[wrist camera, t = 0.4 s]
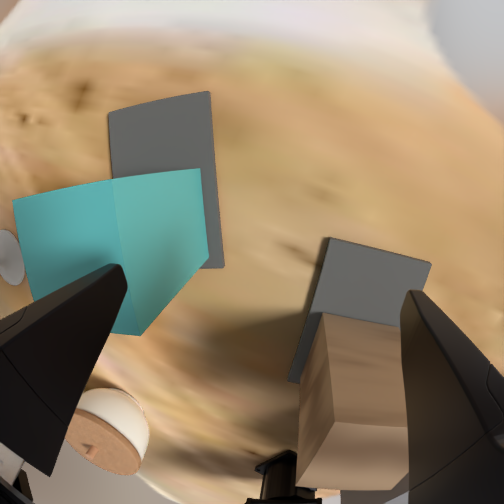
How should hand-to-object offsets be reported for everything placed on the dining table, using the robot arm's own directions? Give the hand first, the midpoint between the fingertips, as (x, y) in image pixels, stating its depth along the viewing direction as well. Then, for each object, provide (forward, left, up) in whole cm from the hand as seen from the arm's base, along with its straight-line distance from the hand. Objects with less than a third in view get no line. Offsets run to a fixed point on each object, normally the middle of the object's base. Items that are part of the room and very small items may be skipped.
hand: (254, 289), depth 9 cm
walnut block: (-5, -13, -14) cm, 20 cm away
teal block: (-7, +7, -14) cm, 17 cm away
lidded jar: (-31, -2, -15) cm, 34 cm away
